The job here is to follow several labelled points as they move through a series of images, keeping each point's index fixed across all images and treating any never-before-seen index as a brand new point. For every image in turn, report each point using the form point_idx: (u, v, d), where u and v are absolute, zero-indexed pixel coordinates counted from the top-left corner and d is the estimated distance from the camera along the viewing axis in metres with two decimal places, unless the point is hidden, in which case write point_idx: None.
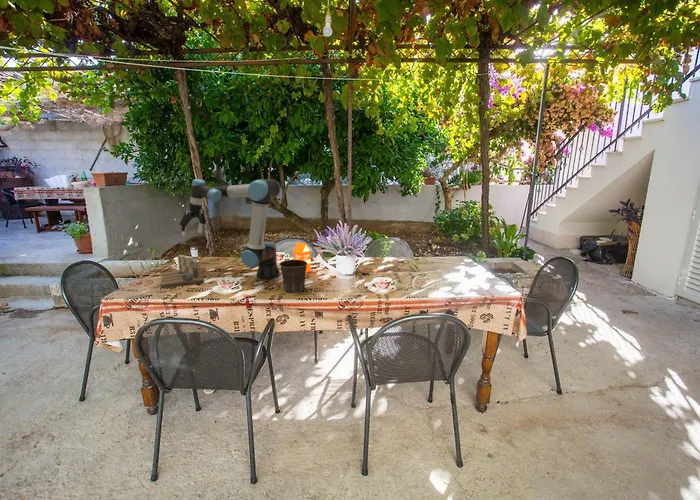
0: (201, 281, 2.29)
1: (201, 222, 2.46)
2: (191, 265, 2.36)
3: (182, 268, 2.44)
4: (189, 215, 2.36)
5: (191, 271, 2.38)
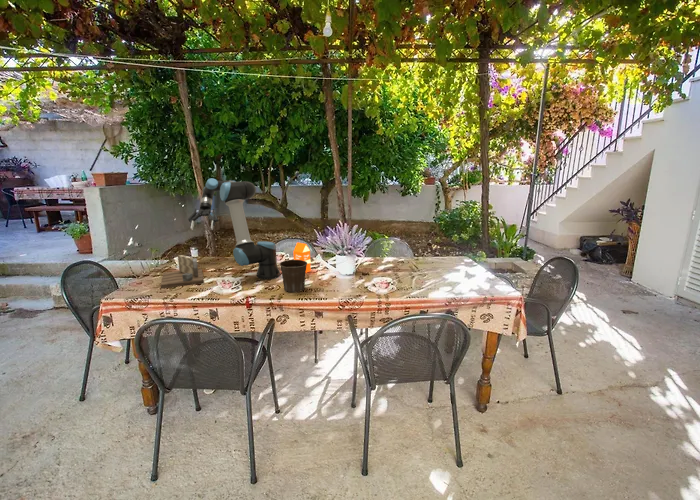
0: (201, 281, 2.29)
1: None
2: (191, 265, 2.36)
3: (182, 268, 2.44)
4: (200, 215, 2.63)
5: (191, 271, 2.38)
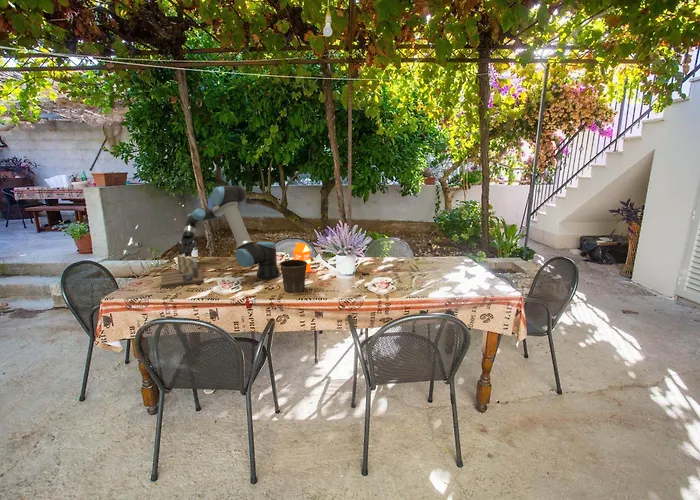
0: (201, 281, 2.29)
1: None
2: (191, 265, 2.36)
3: (181, 268, 2.43)
4: None
5: (191, 271, 2.37)
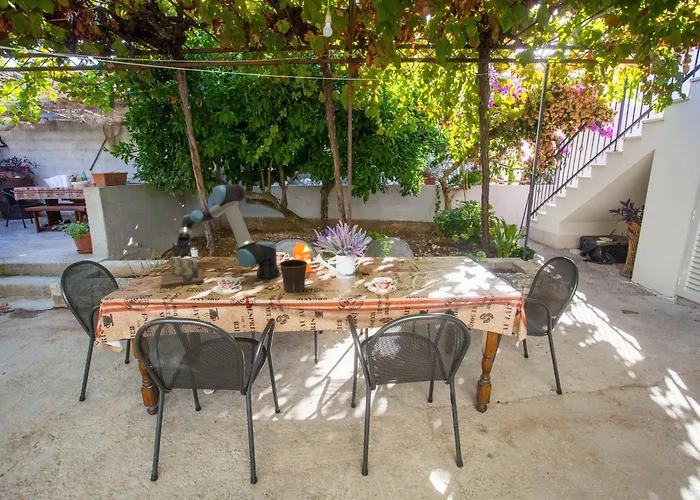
0: (201, 281, 2.29)
1: None
2: (190, 265, 2.35)
3: (176, 270, 2.39)
4: None
5: (190, 272, 2.36)
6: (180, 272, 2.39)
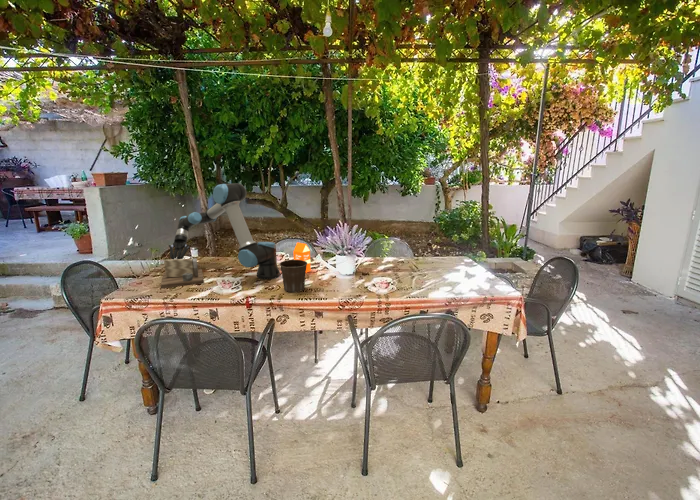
0: (201, 281, 2.29)
1: None
2: (190, 266, 2.34)
3: (172, 273, 2.34)
4: None
5: (189, 272, 2.35)
6: (177, 274, 2.35)
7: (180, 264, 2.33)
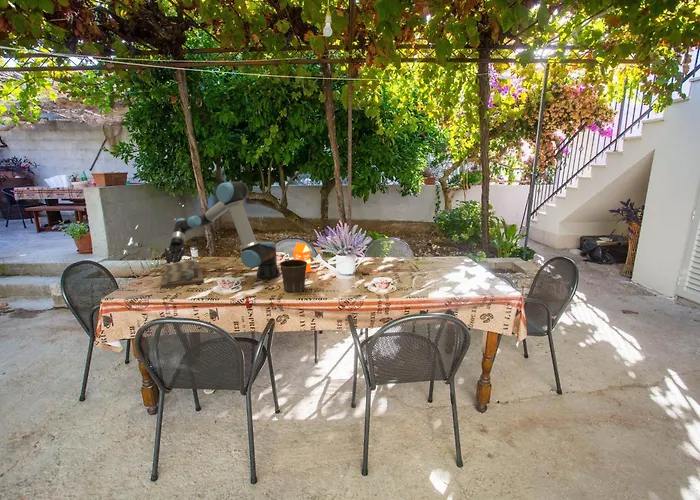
0: (201, 281, 2.29)
1: None
2: (191, 267, 2.33)
3: (173, 277, 2.26)
4: None
5: None
6: (178, 277, 2.28)
7: (182, 266, 2.28)
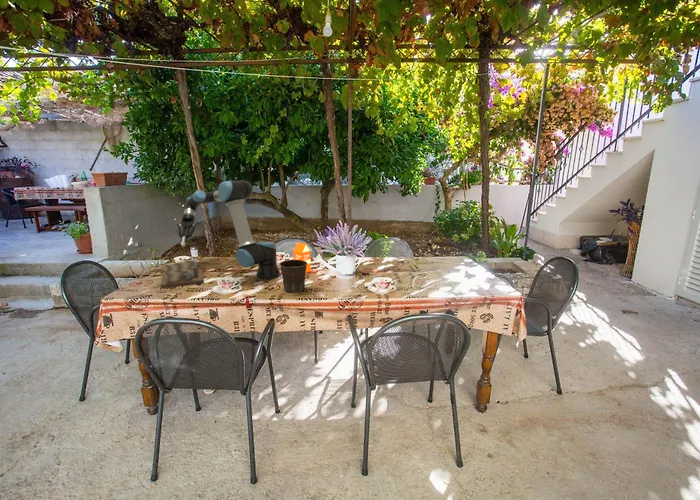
0: (201, 281, 2.29)
1: None
2: (191, 267, 2.33)
3: (173, 277, 2.26)
4: None
5: None
6: (178, 277, 2.28)
7: (182, 266, 2.28)
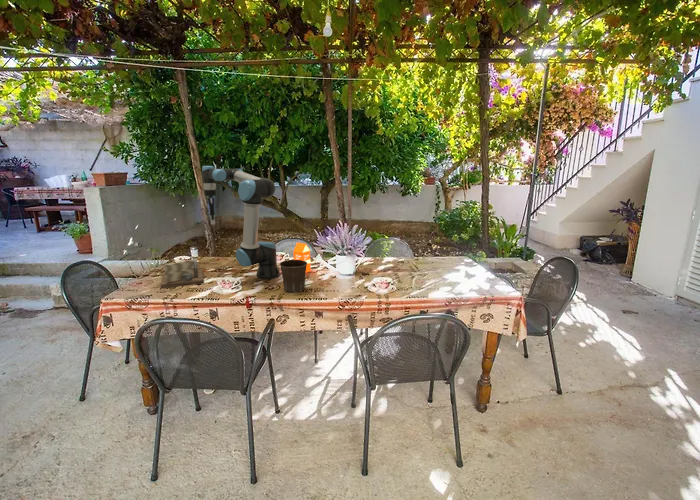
0: (201, 281, 2.29)
1: None
2: (191, 267, 2.33)
3: (173, 277, 2.26)
4: None
5: None
6: (178, 277, 2.28)
7: (182, 266, 2.28)
